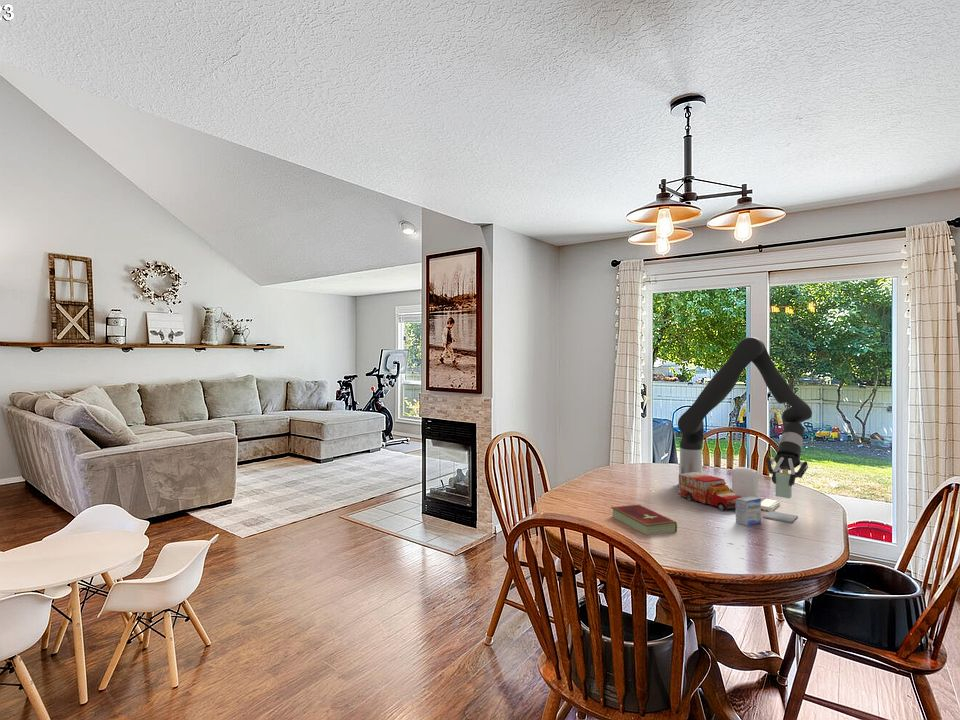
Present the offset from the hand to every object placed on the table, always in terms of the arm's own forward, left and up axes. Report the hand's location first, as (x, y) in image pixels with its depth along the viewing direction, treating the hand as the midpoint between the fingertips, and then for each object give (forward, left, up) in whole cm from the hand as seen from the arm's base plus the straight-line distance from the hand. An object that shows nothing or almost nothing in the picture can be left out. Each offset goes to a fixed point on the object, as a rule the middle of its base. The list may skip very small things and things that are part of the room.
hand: (782, 483), depth 182 cm
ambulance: (-22, +12, -12) cm, 28 cm away
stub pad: (-1, -2, -12) cm, 12 cm away
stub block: (+1, +2, -5) cm, 6 cm away
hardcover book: (-50, -21, -13) cm, 56 cm away
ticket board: (-1, +12, -12) cm, 17 cm away
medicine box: (-14, -11, -12) cm, 22 cm away
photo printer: (-6, +25, -12) cm, 29 cm away
